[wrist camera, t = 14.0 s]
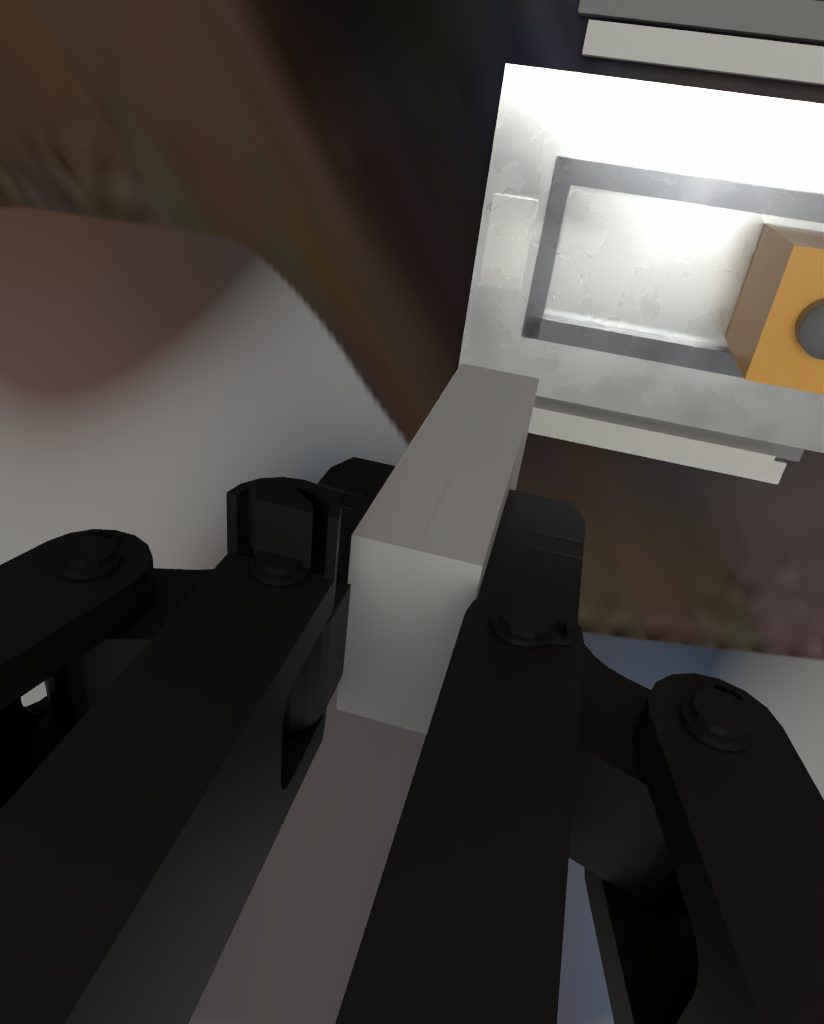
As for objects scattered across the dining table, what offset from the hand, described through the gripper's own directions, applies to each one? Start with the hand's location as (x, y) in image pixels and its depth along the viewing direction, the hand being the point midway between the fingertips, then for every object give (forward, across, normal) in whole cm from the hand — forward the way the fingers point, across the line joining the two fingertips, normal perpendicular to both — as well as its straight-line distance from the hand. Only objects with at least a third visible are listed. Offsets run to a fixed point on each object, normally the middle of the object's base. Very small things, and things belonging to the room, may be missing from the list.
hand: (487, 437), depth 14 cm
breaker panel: (+24, +6, 0) cm, 25 cm away
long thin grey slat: (+24, +6, -8) cm, 26 cm away
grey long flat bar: (+24, +6, +9) cm, 27 cm away
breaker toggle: (+22, +10, 0) cm, 25 cm away
